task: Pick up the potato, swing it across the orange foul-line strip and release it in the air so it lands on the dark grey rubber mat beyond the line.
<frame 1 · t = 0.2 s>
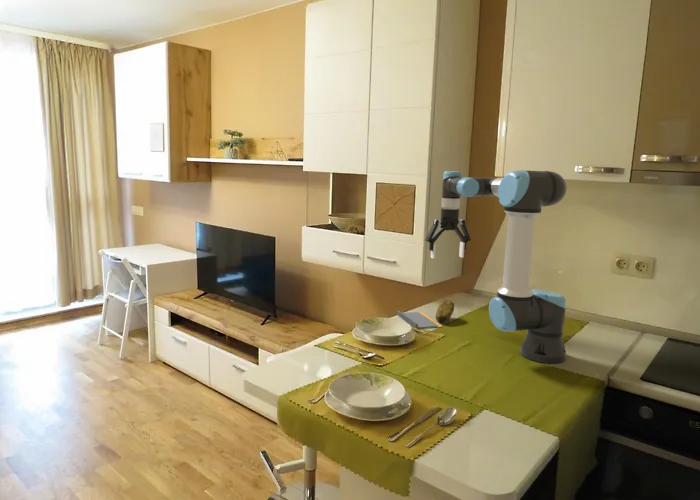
hand: (447, 257, 219), 26 cm above the counter, fingers open, 13 cm apart
potato: (443, 320, 220), on the counter
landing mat: (417, 320, 218), on the counter
foul line: (430, 319, 220), on the counter
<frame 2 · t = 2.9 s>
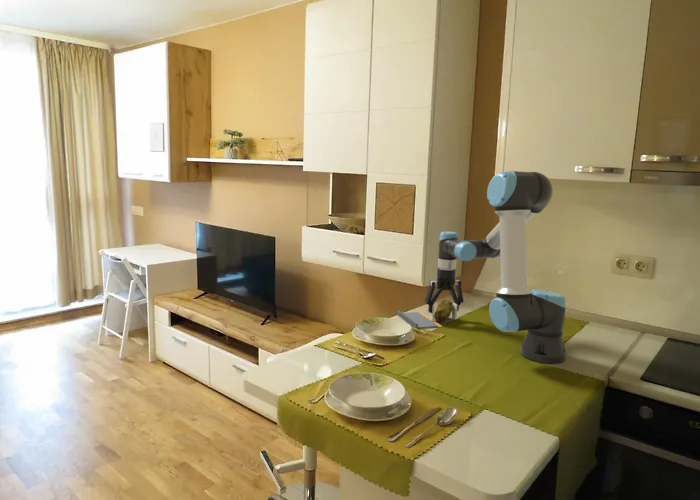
hand: (442, 319, 220), 0 cm above the counter, fingers open, 10 cm apart
nothing on the counter moved.
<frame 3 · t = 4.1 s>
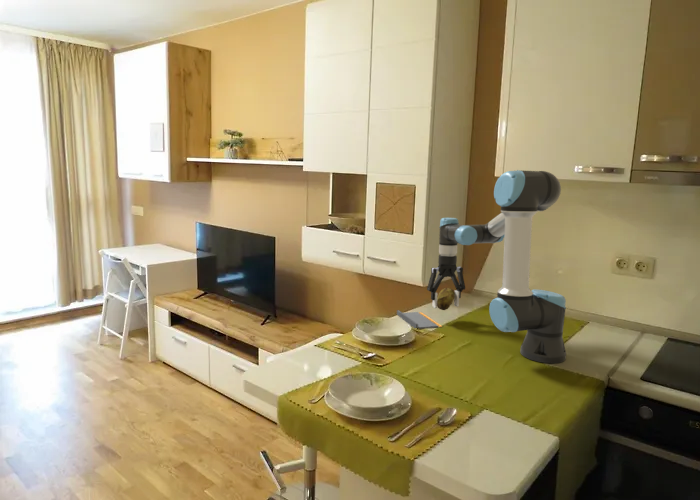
hand: (445, 306, 218), 6 cm above the counter, fingers closed on potato, 10 cm apart
potato: (444, 308, 218), point 5 cm above the counter, touching gripper
when the fingers open (3 cm above the counter, at t = 7.0 s): potato drops 1 cm, resting on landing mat.
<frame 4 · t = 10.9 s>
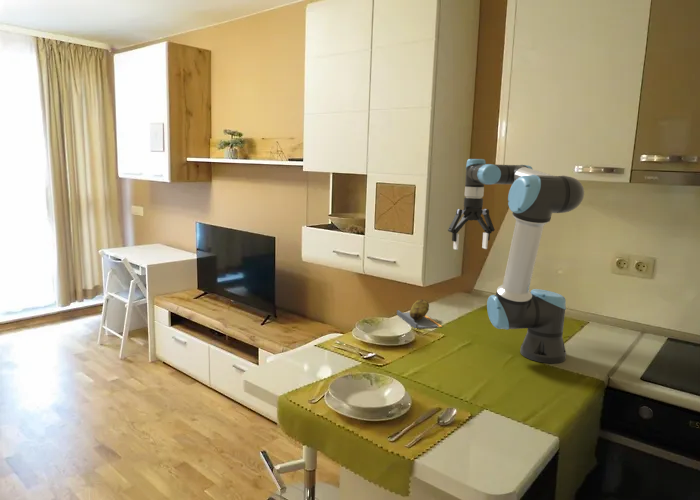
hand: (470, 248, 212), 32 cm above the counter, fingers open, 13 cm apart
potato: (416, 318, 218), point 1 cm above the counter, touching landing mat
at the end: potato inside the target area (1.6 cm from its centre), point 0.8 cm above the counter; the gripper is holding nothing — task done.
